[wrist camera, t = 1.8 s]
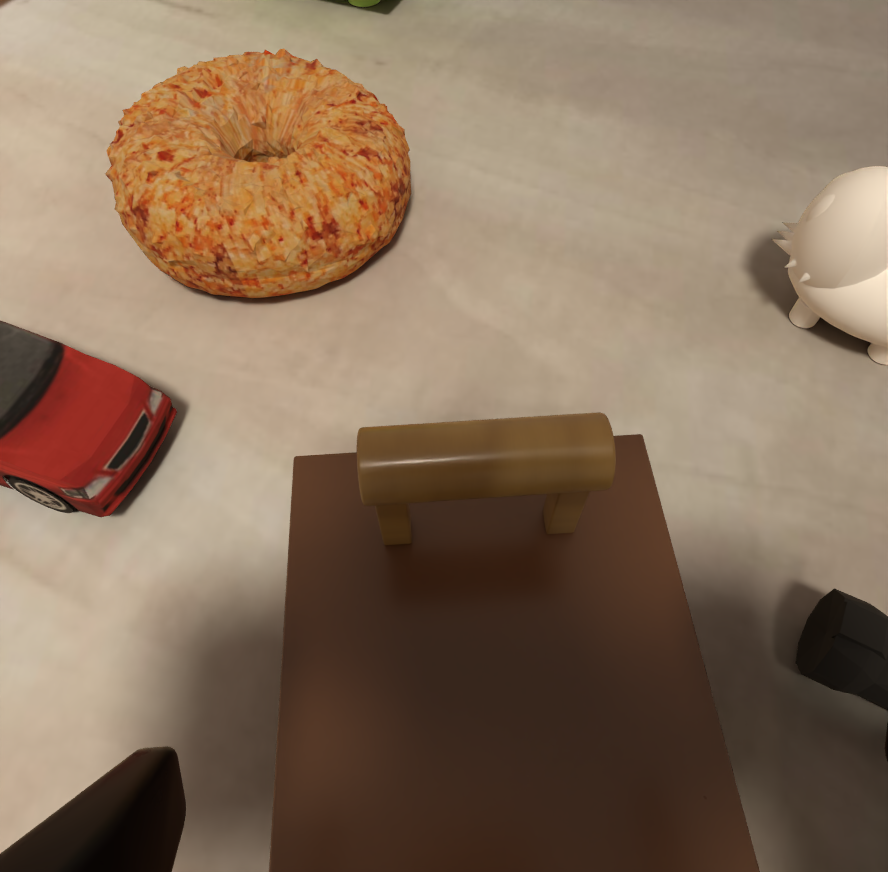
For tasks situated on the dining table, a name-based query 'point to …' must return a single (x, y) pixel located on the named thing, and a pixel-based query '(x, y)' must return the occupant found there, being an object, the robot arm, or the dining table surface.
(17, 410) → the toy car
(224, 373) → the dining table surface
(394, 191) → the bagel
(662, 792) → the lid
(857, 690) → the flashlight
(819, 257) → the toy creature
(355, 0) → the teapot
